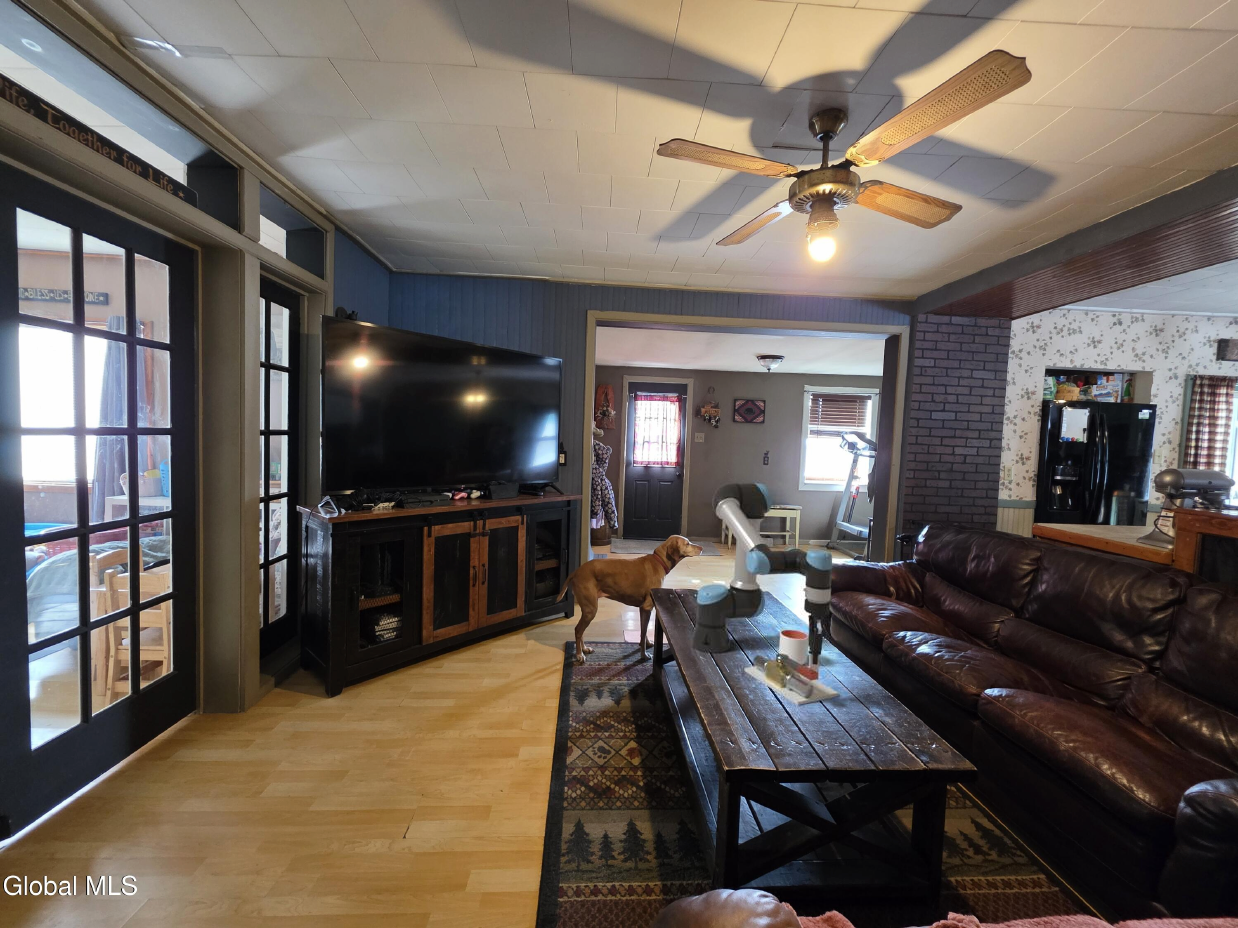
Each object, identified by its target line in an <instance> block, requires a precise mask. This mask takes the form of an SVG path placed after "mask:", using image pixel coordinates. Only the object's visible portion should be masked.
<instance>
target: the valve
mask: <svg viewBox="0 0 1238 928" xmlns="http://www.w3.org/2000/svg"><path fill="white" fill-rule="evenodd" d="M752 664H753V667H754V666H755V667H756V668H758V669H760V670H761V671H763V674H764V675H765V676H766V679H767V680H769V681H770V682H772V683H773V684H775V685H777V686H778V687H780V688H782V687H786V688H787V689H788V690H794V691H795V692H797V693H799V694H800V695H802V696H803V697H805V698H809V697H810V696H811V695H812V694H813V686H812V685H811V684H809V683H808V682H806V681H804V680H802V679H801V676H800V675H799V674H797V671H795V670H793V669H792V668H790V667H788V666H786V665H785V664H781V663H778V662H777V661H776V659H772V658H771V659H769V658H766V657H764V656H763V655H761V654H760V655H759V654H758V655H756V656H755V657H754V658H753V660H752Z"/></svg>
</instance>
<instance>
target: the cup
mask: <svg viewBox="0 0 1238 928" xmlns="http://www.w3.org/2000/svg"><path fill="white" fill-rule="evenodd" d="M808 644H809V634H807V633H805V632H803V631H800V630H795V629H784V630H781V631H780V632H779V646H778V647H779V648H778V654H785V655H788V656H789V658H790V659H792V660H794V661H796V662H797V663H799V664H801V665H805V664H806V663H807V661H808V654H809V645H808Z"/></svg>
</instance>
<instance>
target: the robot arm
mask: <svg viewBox="0 0 1238 928" xmlns="http://www.w3.org/2000/svg"><path fill="white" fill-rule="evenodd" d="M771 495H772V494H771V492H770V491H769V488H768V487H767V486H766V485H765V484H763V483H758V482H757V483H755V482H737V483H736V482H727V483H724V484H722V485H720V486H719V487H717V489H716V490H715V492H714V493H713V496H712V499H711V500H712V501H711V505H712V510H713V512H714V514H715V515H716V516H717V517H718V519H721V520H723V522H724V523H725V525H726V526H727V528H728V529H729V531H730V532H731V533H732V535H733V537H734V538H735V539H736V542H735V543H736V544H735V545H736V546H735V558H734V559H735V561H734V575H733V579H732V580H731V581H729V588H728V587H727V586H726V585H723V584H714V583H713V584H712V583H711V584H706V585H704V586H703V585H702V586H701V587H700V588H699V589H698V591H697V597H696V603H697V604H696V625H695V628H694V631H693V633H692V636H691V640H690V641H691V642H690V645H691V647H693V648H694V649H696V650H698V651H701V652H705V653H713V654H717V653H724V652H727V651H729V650H730V647H731V641H730V637H729V633H728V629H727V620H732V619H733V620H734V619H751V618H757V617H759V616H760V615H761V614H762V613H763V612H764V608H765V606H766V605H765V604H766V598H765V593H764V591H763V590H762V589H761V588H760V584H759V583H758V582H757V575H759V576H768V575H769V576H771V575H784V574H785V575H789V574H791V575H792V574H793V575H794V574H798V575H800V576H803V577H805V588H803V592H804V597H805V598H804V607H803V608H804V611H805V612H806V613H808V616H807V617H808V654H809V656H808V657H809V660H808V661H809V662H808V663H809V664H808V667H809V668H810V669H812V670H814V671H816V672H818V673H819V668H820V656H821V655H822V647H823V642H824V641H823V640H824V633H825V628H824V625H825V621H824V619H823V616H828V615H829V614H830V611H831V610H830V609H831V602H830V601H831V592H832V574H833V567H834V565H833V556H832V553H831V552H829V551H827V550H822V549H809V550H807V551H804V550H803V549H800V548H796V547H789V548H787V549H785V550H772V549H771V548H770V546H769V545H767V543H766V542H765V540H764V539H763V538H762V536H761V535H760V531H761V530H760V529H761V522H763V520H765V514H767V513H769V512H770V511H771V509H772V505H773V500H772V496H771Z"/></svg>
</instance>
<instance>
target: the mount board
mask: <svg viewBox="0 0 1238 928" xmlns="http://www.w3.org/2000/svg"><path fill="white" fill-rule="evenodd" d="M744 672H745V673H747V674H748V675H750V676H752V677H753V678H755V679H756V680H758V681H759V682H761V683H763V684H764V685H766V686H767V687H769V688H770V689H772V690H773V691H775V692H776V693H778V694H780V695H781V696H782V697H785V699H787V700H788V701H790V702H792V703H793V704H795V705H796V706H799V705H804V704H809V703H815V702H817V701H822V700H827V699H832V698H835V697H839V692H838V691H836V690H834V689H833V688H831V687H829V686H828V685H825V684H823V683H822V682H820V681H818V680H812V681H810V680H809V679H807V678H805V677H803V676H802V675H800V674H799V675H800V676H801V679H802V680H804V681H806V682H808V683H809V684H811V685H812V686H813V694H812V695H811V696H810V697H809V698H805V697H803V696H802V695H800V694H799V693H797V692H795V691H794V690H788V689H787V688H786V687H782V688H780V687H778V686H777V685H775V684H773V683H772V682H770V681H769V680H767V679H766V676H765V675H764V674H763V671H761V670H760V669H758V668H756V667H755V666H754V665H753V666H750V667H749V666H748V667H744ZM797 674H798V673H797Z"/></svg>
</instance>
